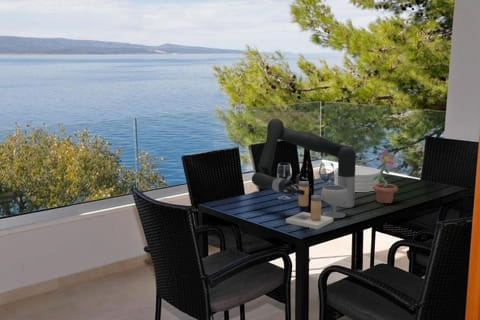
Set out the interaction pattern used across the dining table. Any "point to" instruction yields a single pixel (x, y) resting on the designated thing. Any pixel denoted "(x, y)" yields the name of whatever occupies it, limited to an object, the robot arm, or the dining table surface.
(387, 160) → the decorative flower
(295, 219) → the white board with post
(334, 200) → the chalice
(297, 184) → the pneumatic valve
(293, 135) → the robot arm
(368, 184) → the plate stack
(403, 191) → the dining table surface
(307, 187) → the grey-capped tan peg
